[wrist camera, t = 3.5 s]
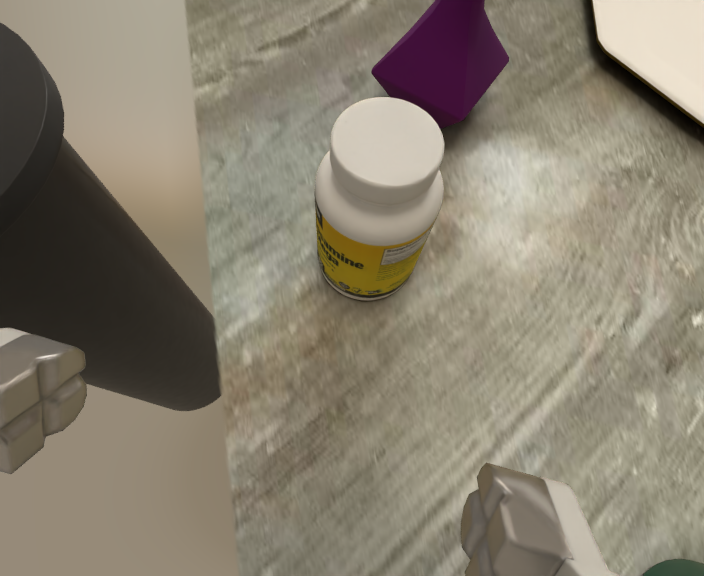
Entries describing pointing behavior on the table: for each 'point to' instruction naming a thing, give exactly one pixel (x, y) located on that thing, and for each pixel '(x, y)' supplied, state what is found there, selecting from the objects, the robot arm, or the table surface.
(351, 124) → the pill bottle
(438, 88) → the purple faceted vase
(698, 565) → the water bottle
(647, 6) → the plate
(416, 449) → the table surface
